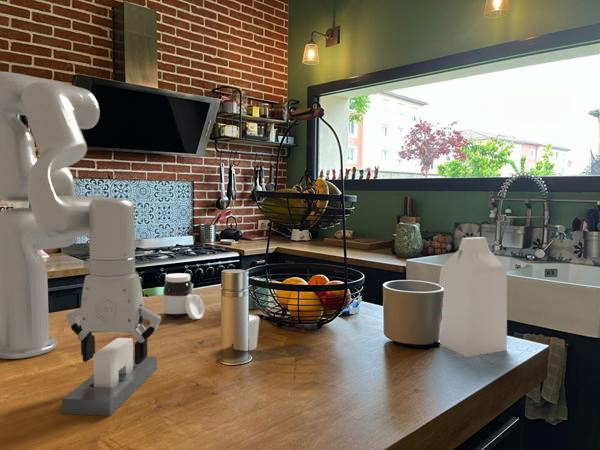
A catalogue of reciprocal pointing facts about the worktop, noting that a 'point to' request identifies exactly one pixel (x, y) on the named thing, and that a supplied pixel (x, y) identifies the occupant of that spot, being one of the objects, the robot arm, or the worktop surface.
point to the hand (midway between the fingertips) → (114, 360)
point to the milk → (474, 300)
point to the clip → (113, 362)
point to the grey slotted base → (107, 391)
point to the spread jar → (181, 298)
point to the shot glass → (253, 331)
